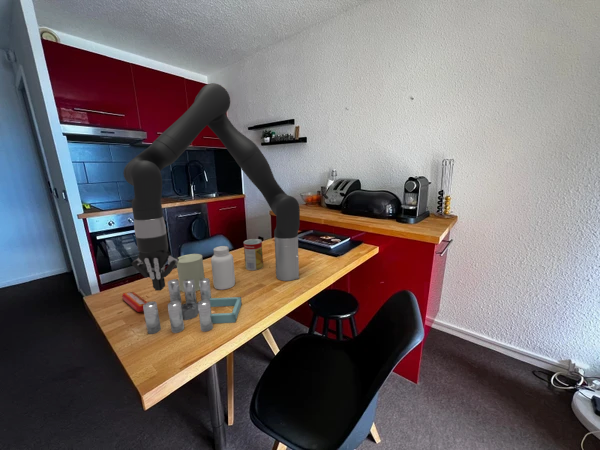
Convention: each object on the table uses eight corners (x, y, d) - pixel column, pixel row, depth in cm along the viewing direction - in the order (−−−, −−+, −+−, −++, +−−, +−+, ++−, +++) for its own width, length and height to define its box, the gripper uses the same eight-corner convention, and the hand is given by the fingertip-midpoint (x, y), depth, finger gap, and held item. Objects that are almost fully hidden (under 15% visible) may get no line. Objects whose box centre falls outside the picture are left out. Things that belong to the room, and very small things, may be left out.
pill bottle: (215, 292, 90) (211, 253, 87) (212, 283, 97) (208, 246, 93) (237, 287, 94) (234, 249, 90) (232, 278, 100) (229, 243, 97)
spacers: (226, 298, 85) (224, 277, 83) (210, 331, 68) (207, 305, 67) (173, 301, 85) (170, 279, 83) (145, 334, 68) (140, 307, 66)
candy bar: (152, 310, 79) (151, 302, 79) (139, 316, 77) (138, 307, 76) (133, 295, 89) (131, 288, 88) (121, 300, 86) (119, 292, 86)
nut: (201, 309, 79) (199, 300, 79) (194, 320, 74) (193, 311, 73) (185, 310, 79) (183, 301, 79) (177, 321, 74) (175, 311, 73)
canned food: (264, 263, 116) (263, 239, 113) (260, 270, 108) (259, 244, 105) (248, 263, 116) (246, 238, 114) (243, 270, 109) (241, 244, 106)
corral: (241, 303, 82) (241, 297, 81) (235, 322, 72) (234, 314, 72) (210, 305, 82) (210, 298, 81) (200, 323, 72) (199, 316, 71)
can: (184, 281, 99) (181, 253, 96) (208, 280, 100) (205, 252, 97) (175, 293, 90) (171, 262, 87) (201, 291, 91) (198, 260, 88)
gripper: (180, 229, 74) (187, 283, 78) (135, 230, 74) (144, 284, 78) (168, 236, 67) (176, 295, 71) (118, 237, 66) (129, 296, 70)
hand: (159, 289), depth 74 cm, fingers closed
